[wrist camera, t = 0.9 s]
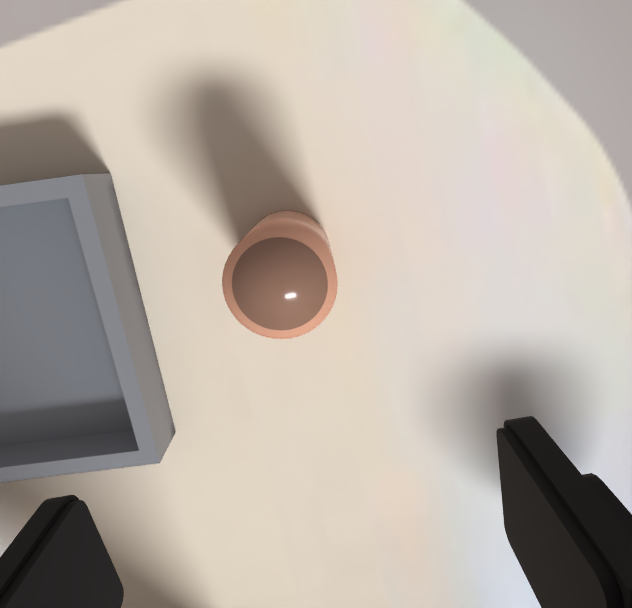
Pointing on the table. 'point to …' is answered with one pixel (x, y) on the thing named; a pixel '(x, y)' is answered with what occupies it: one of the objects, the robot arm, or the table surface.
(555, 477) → the robot arm
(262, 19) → the table surface
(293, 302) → the cup
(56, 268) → the tray
